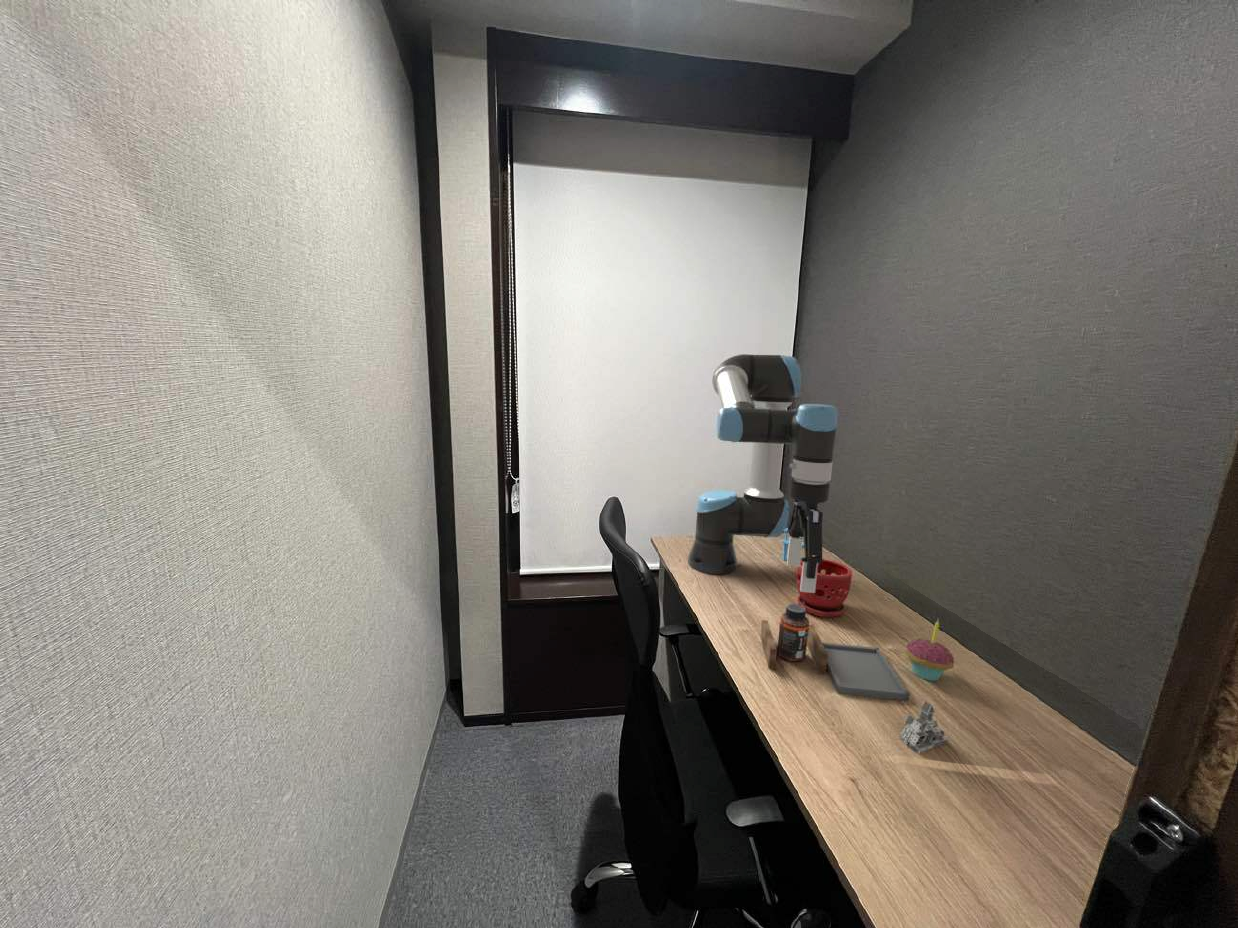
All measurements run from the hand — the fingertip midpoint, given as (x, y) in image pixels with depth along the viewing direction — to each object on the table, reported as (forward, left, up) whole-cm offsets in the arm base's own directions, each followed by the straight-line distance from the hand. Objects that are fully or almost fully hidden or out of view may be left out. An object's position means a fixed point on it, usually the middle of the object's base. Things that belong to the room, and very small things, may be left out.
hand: (799, 577), depth 106 cm
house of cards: (+20, +17, -19) cm, 32 cm away
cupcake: (+2, +27, -19) cm, 33 cm away
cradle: (0, 0, -18) cm, 18 cm away
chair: (-56, +12, -19) cm, 60 cm away
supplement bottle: (0, 0, -19) cm, 19 cm away
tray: (+4, +13, -18) cm, 23 cm away
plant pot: (-24, +12, -19) cm, 33 cm away
